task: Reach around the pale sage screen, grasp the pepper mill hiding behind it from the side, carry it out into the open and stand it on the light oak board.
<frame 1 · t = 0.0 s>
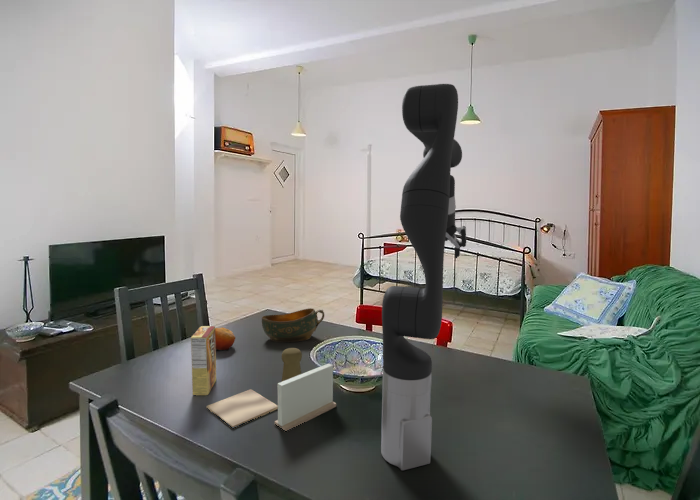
hand: (442, 256, 128), 31 cm above the table, tool tilted 20°, fingers open, 8 cm apart
fruit: (222, 349, 132), on the table
candy box: (205, 388, 105), on the table
green gravy boat: (293, 338, 142), on the table
board: (242, 408, 95), on the table
pepper mill: (292, 390, 104), on the table
screen: (306, 415, 92), on the table
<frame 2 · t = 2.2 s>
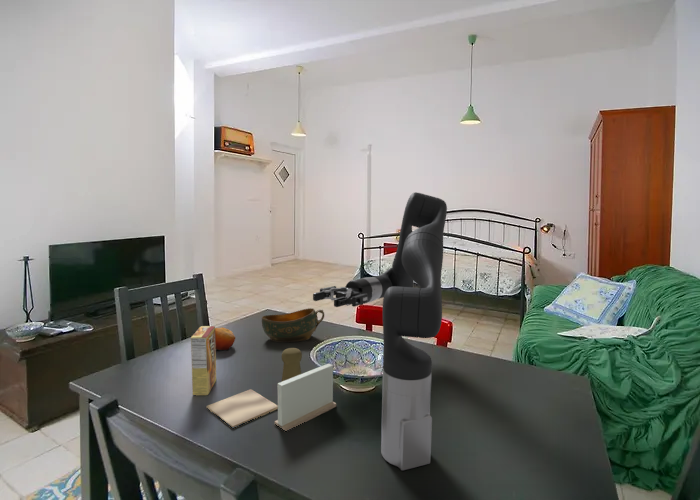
hand: (324, 300, 109), 22 cm above the table, tool horizontal, fingers open, 8 cm apart
nothing on the table moved.
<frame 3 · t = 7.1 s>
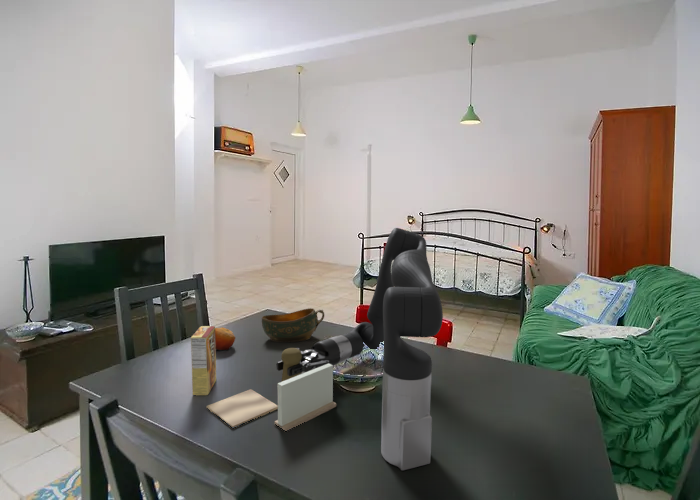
hand: (283, 369, 101), 7 cm above the table, tool horizontal, fingers closed on pepper mill, 4 cm apart
pepper mill: (291, 390, 104), on the table, touching gripper
everything else where it was.
when the fingers open (7 cm above the table, at t = 13.0 s): pepper mill stays where it is, resting on board.
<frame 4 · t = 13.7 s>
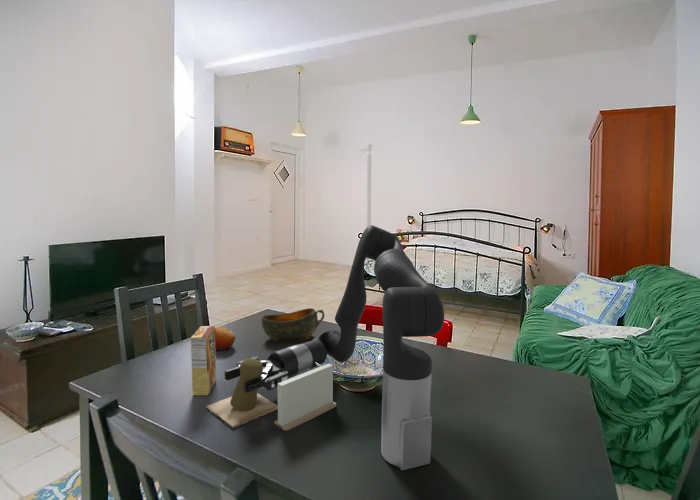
hand: (234, 382, 93), 7 cm above the table, tool horizontal, fingers open, 8 cm apart
pepper mill: (243, 403, 95), point 1 cm above the table, touching board, gripper
everything else where it was.
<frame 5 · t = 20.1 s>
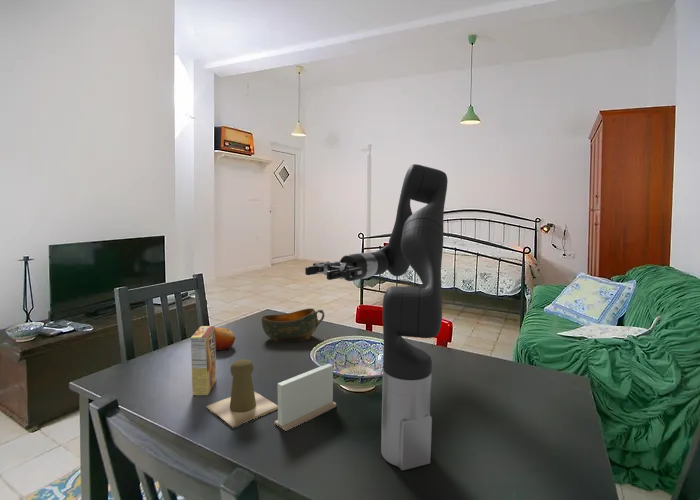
hand: (316, 273, 105), 30 cm above the table, tool horizontal, fingers open, 8 cm apart
pepper mill: (243, 406, 95), resting on board
everything else where it was.
at the end: pepper mill inside the target area on the board (0.1 cm from its centre), point 0.4 cm above the board's base; pepper mill tilted 0°; the gripper is holding nothing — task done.
